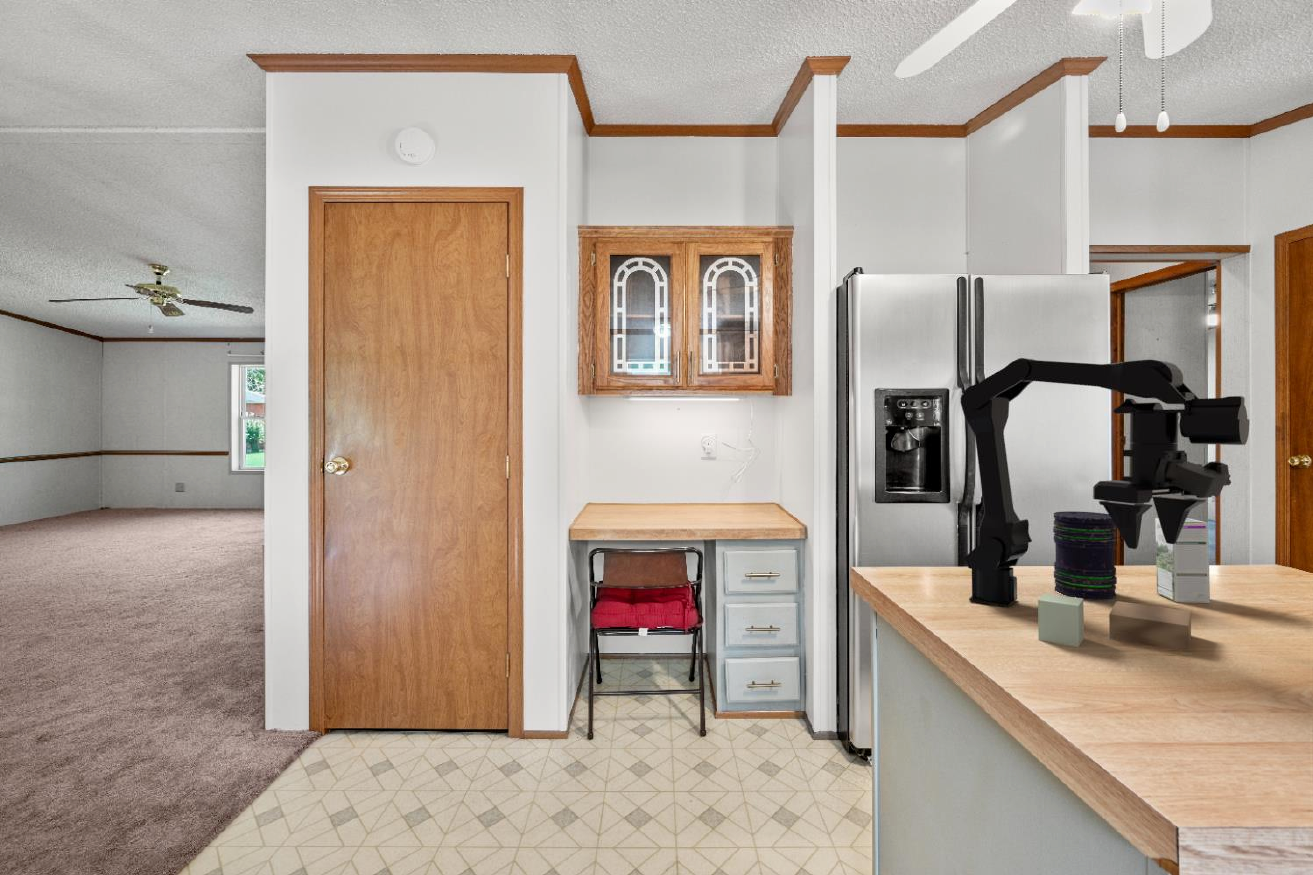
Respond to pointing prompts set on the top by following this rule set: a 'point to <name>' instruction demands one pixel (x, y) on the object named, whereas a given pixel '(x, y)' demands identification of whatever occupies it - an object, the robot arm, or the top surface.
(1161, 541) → the syrup box
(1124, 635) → the block
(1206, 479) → the robot arm
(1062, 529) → the storage jar
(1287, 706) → the top surface
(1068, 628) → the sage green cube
